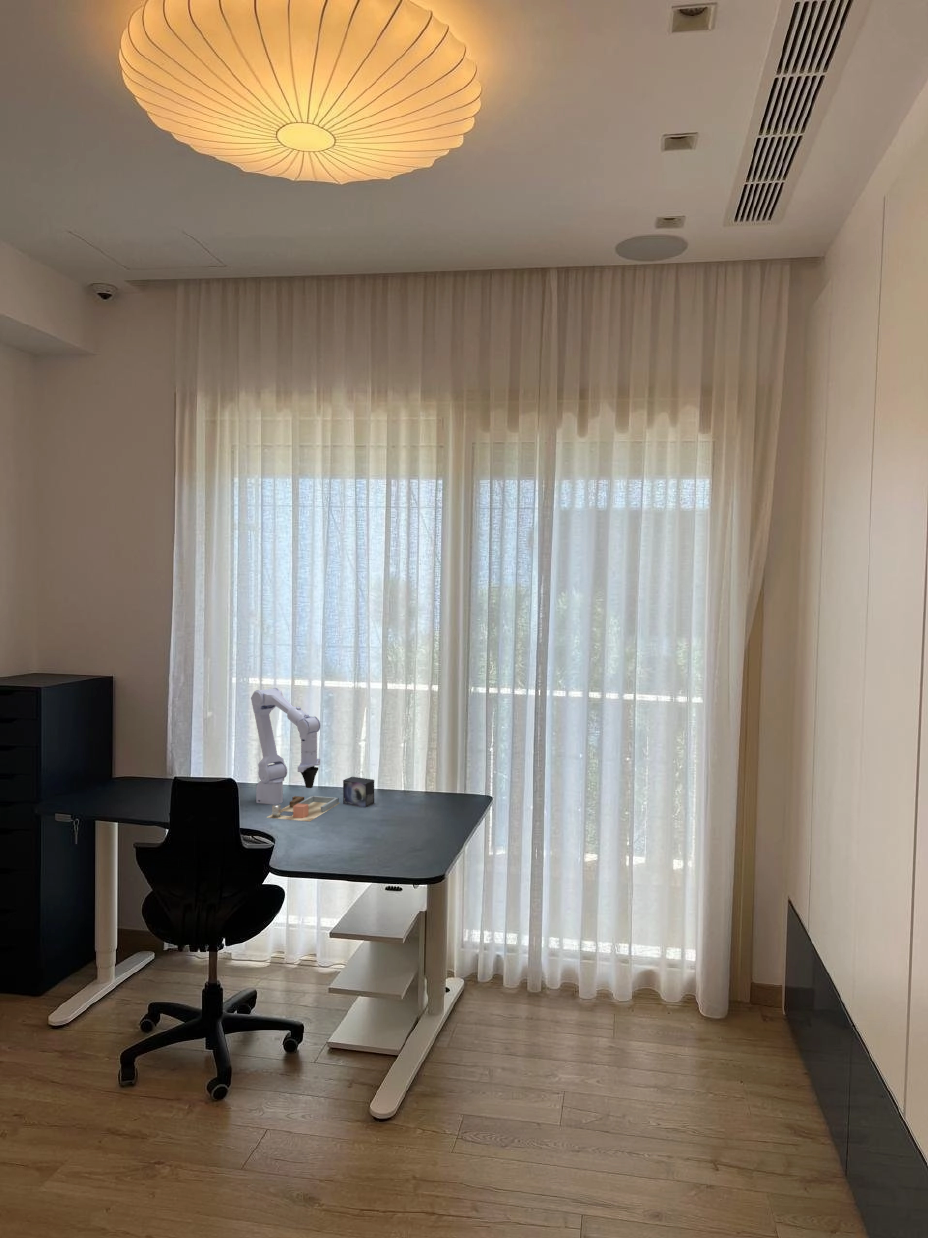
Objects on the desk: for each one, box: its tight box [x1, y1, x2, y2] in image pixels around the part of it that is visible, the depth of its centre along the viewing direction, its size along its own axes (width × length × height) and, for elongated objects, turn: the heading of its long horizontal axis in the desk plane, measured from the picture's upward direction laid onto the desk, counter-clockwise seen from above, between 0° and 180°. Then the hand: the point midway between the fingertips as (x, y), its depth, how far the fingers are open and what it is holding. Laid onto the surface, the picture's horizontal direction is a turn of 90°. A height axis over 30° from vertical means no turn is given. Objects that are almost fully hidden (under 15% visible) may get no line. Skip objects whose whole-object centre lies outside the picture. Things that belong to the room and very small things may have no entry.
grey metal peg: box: [271, 804, 282, 819], centre depth 321 cm, size 3×3×4 cm
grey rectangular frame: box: [300, 795, 340, 813], centre depth 335 cm, size 11×14×2 cm
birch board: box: [266, 802, 341, 822], centre depth 330 cm, size 17×26×1 cm, turn 164°
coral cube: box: [292, 803, 308, 818], centre depth 322 cm, size 4×4×4 cm
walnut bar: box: [289, 795, 305, 807], centre depth 338 cm, size 4×8×2 cm, turn 164°
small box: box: [342, 776, 375, 808], centre depth 339 cm, size 11×6×10 cm, turn 62°
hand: (309, 787), depth 328 cm, fingers closed
